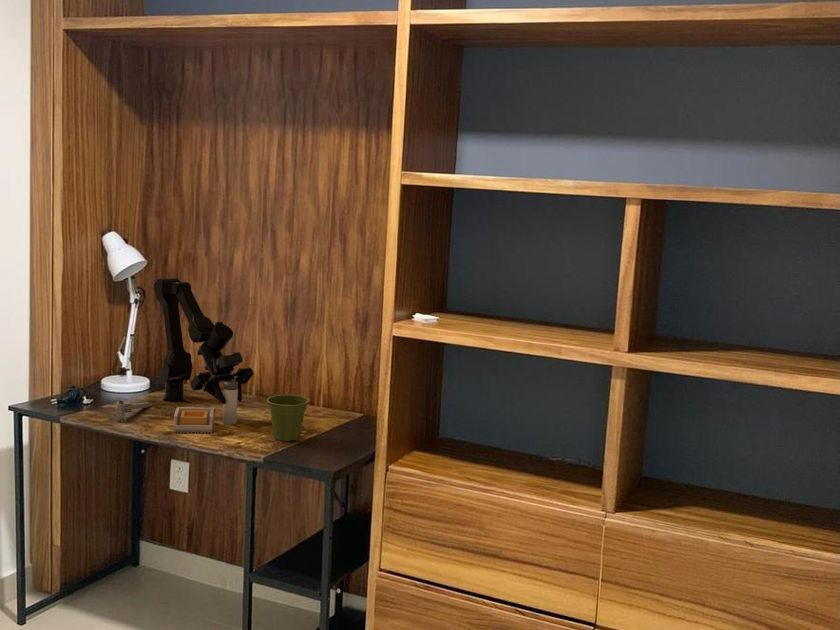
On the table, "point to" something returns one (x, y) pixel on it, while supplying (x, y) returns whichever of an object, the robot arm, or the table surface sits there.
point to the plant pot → (287, 415)
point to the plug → (230, 402)
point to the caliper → (128, 408)
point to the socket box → (193, 420)
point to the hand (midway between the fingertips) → (232, 402)
